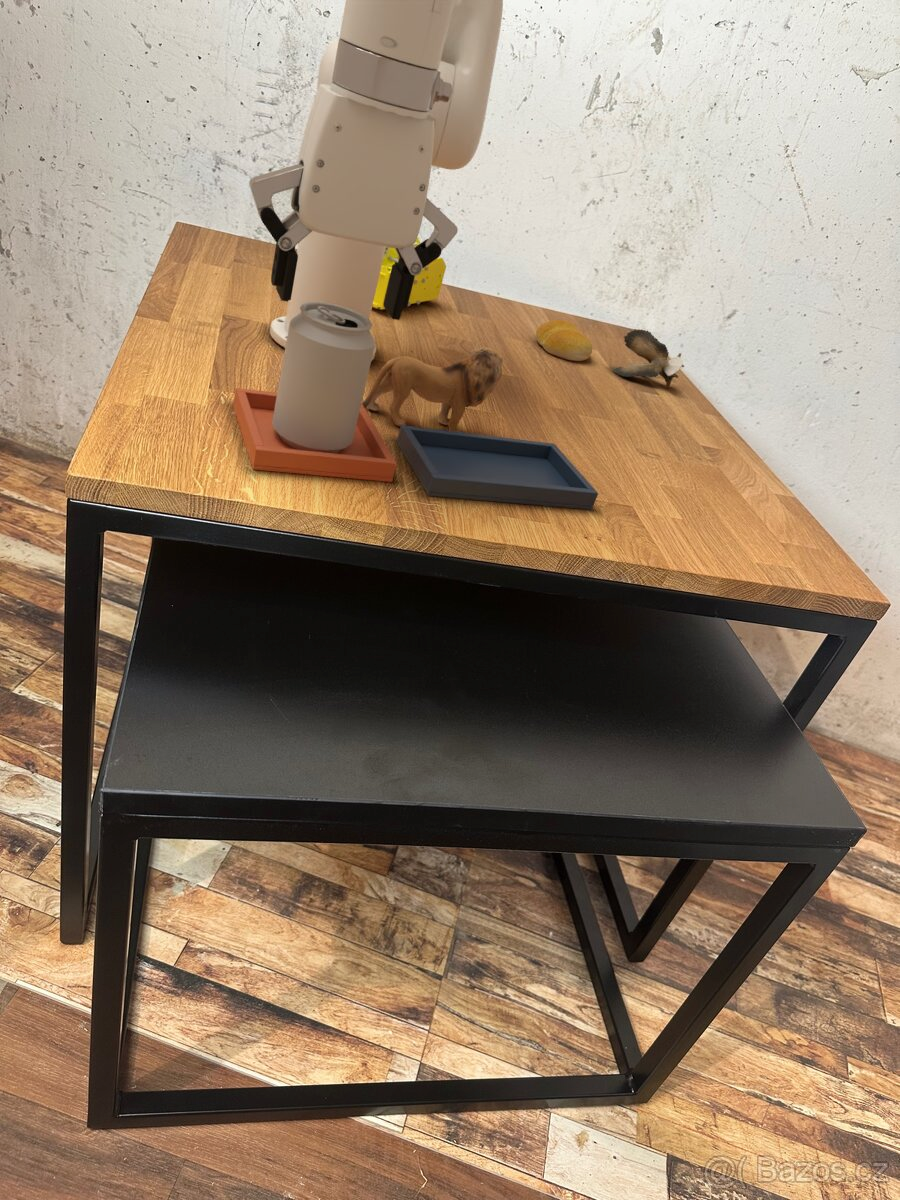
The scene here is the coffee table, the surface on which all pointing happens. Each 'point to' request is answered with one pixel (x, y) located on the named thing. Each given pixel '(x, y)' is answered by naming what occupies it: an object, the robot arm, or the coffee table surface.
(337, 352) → the can
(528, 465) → the slate tray
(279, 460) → the terracotta tray
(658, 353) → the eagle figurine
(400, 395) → the lion figurine
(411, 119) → the robot arm
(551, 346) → the bread roll
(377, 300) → the yellow toy chassis
